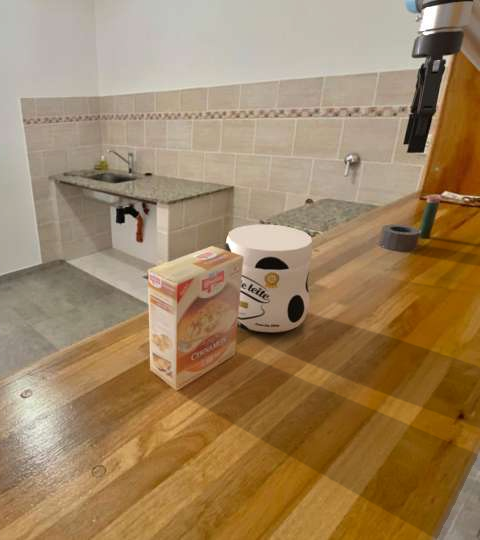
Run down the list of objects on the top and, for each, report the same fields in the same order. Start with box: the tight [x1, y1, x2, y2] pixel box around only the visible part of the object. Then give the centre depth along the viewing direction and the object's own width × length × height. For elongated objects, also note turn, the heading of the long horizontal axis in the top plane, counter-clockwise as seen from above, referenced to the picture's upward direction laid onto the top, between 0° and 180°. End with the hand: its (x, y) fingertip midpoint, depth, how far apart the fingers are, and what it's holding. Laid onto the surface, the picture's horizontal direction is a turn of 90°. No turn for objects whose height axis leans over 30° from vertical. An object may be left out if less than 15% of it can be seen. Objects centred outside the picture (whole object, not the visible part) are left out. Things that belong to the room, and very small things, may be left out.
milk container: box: [224, 224, 313, 335], centre depth 76 cm, size 17×17×18 cm
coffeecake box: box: [147, 245, 244, 392], centre depth 64 cm, size 15×7×20 cm, turn 126°
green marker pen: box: [418, 196, 441, 239], centre depth 113 cm, size 3×3×12 cm
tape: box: [378, 224, 421, 252], centre depth 109 cm, size 9×9×5 cm
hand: (412, 148), depth 82 cm, fingers open, 13 cm apart
